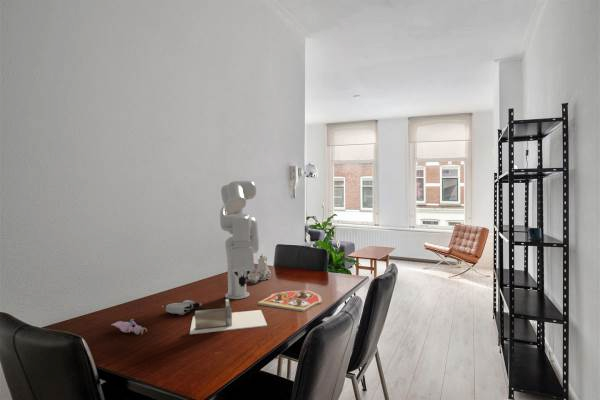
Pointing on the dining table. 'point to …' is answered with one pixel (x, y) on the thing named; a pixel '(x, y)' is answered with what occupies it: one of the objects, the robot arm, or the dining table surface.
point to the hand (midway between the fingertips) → (242, 285)
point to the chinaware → (260, 271)
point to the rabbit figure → (129, 327)
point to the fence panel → (227, 303)
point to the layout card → (235, 322)
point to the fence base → (213, 318)
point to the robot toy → (181, 307)
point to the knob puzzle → (292, 300)
